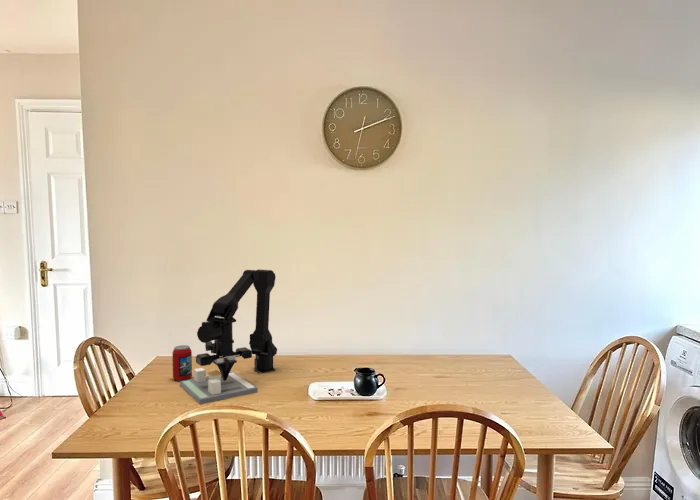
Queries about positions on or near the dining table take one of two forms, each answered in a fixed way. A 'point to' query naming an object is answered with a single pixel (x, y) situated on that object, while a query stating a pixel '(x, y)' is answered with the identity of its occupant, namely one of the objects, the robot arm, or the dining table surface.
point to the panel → (228, 388)
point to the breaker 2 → (214, 386)
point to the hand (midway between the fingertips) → (224, 380)
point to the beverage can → (182, 363)
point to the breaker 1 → (199, 375)
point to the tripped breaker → (214, 375)
